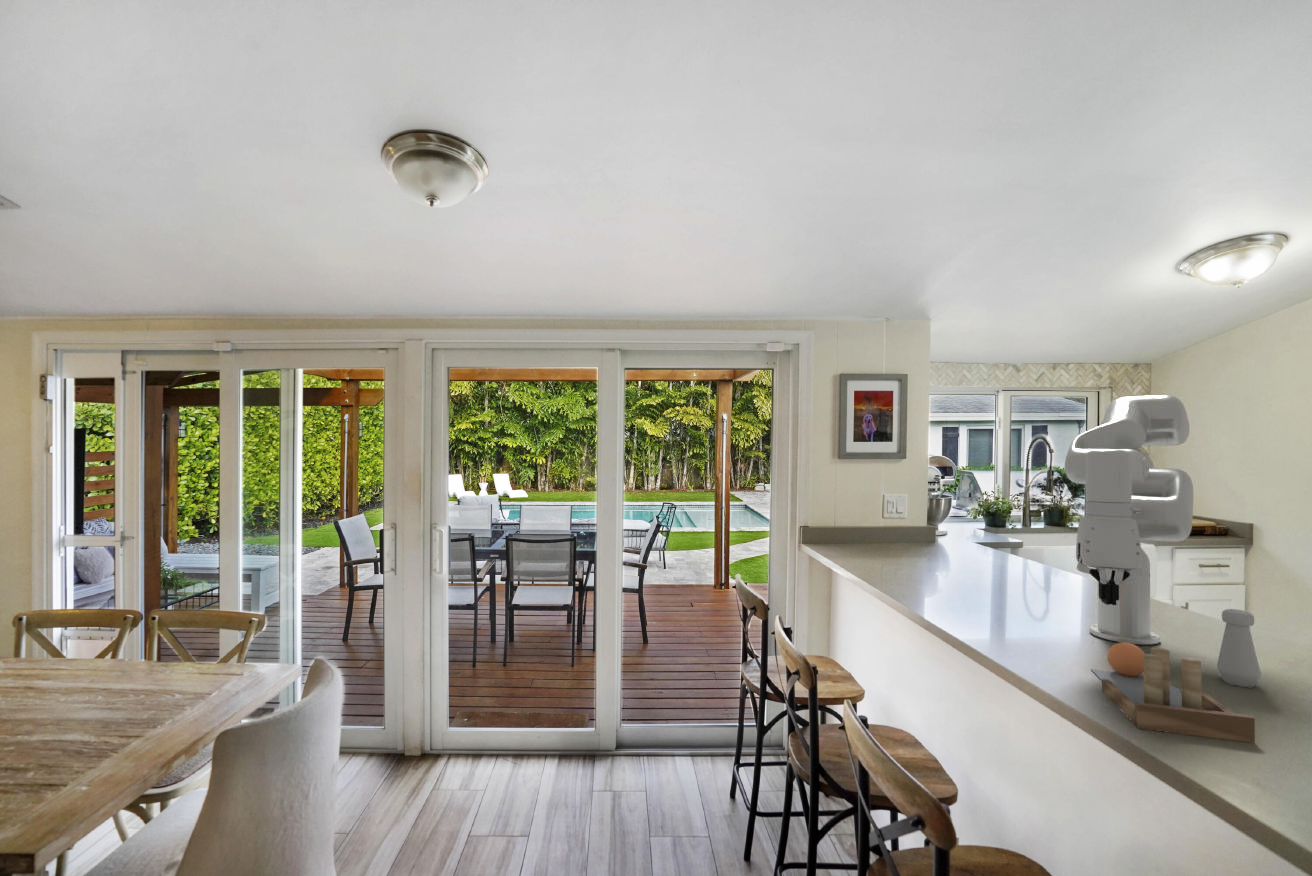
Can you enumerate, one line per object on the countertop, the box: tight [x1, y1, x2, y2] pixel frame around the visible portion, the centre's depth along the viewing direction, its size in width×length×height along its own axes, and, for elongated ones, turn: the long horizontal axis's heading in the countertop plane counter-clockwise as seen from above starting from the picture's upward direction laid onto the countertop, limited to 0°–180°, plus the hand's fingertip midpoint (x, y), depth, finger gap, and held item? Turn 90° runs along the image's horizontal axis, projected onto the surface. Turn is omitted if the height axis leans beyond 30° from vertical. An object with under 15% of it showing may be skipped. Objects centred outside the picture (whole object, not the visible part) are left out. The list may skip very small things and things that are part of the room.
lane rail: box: [1101, 679, 1256, 744], centre depth 100 cm, size 16×14×4 cm
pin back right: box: [1143, 653, 1163, 705], centre depth 100 cm, size 2×2×9 cm
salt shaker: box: [1216, 608, 1262, 688], centre depth 113 cm, size 6×6×13 cm
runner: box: [1090, 668, 1204, 710], centre depth 105 cm, size 26×11×1 cm, turn 161°
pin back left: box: [1180, 656, 1203, 710], centre depth 98 cm, size 2×2×9 cm
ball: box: [1106, 642, 1146, 677], centre depth 116 cm, size 6×6×6 cm
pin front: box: [1150, 647, 1171, 706], centre depth 103 cm, size 2×2×9 cm
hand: (1108, 603), depth 125 cm, fingers closed
